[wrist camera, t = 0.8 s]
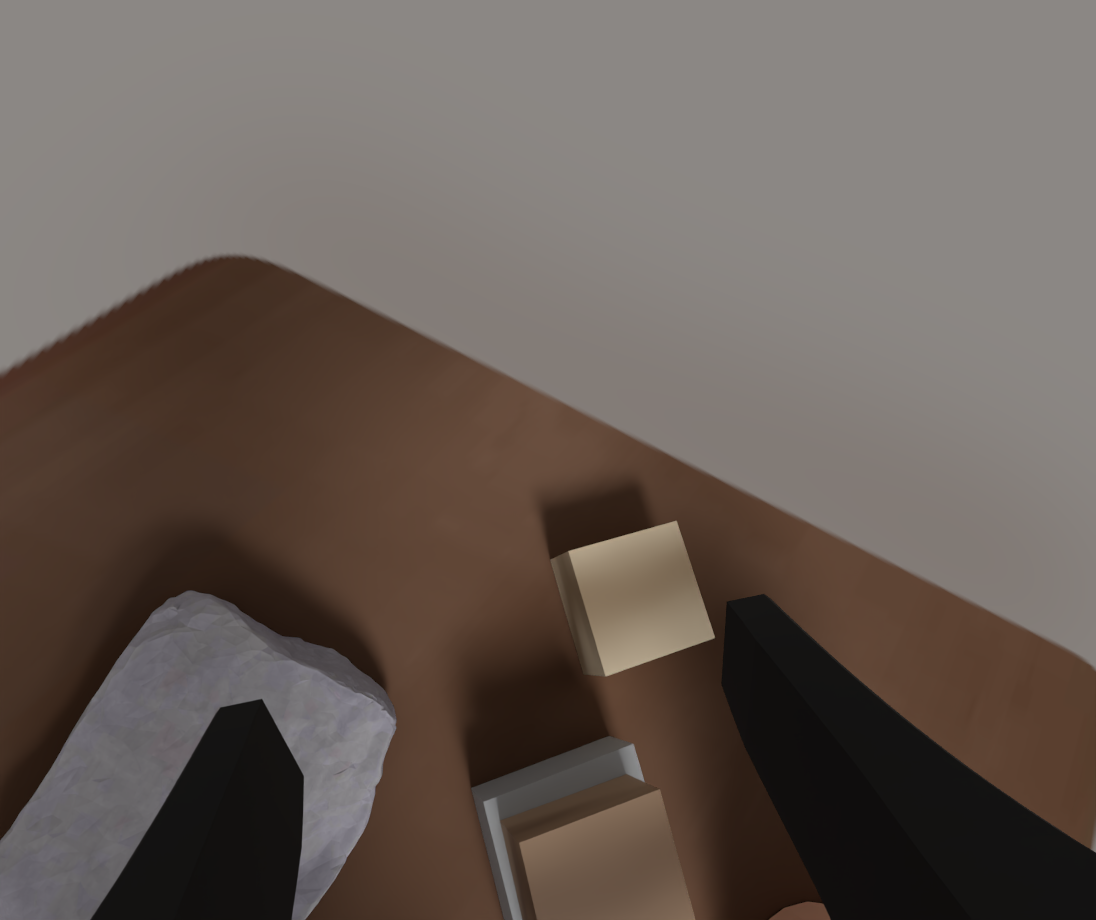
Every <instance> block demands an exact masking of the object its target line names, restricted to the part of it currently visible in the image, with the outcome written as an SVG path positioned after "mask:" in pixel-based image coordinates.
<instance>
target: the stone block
mask: <svg viewBox="0 0 1096 920" xmlns="http://www.w3.org/2000/svg"><path fill="white" fill-rule="evenodd" d="M258 699H262V700H263V701H264V703H265V705H266V707H267V709H268V711H269V712H270V714H271V716H272V718H273V720H274V722H275V723H276V725H277V727H278V729H279V731H280V733H281V735H282V736H283V738H284V740H285V742H286V744H287V746H288V747H289V749H290V751H291V753H292V755H293V757H294V758H295V760H296V762H297V764H298V766H299V768H300V770H301V771H302V773H303V775H304V801H303V831H302V850H301V857H300V865H299V872H298V879H297V886H296V893H295V900H294V907H293V914H292V920H305V919H306V918H307V917H308V915H309V914H310V913H311V911H312V910H313V909H314V908H315V906H316V905H317V904H318V903H319V901H320V899H321V898H322V897H323V895H324V894H325V893H326V891H327V890H328V888H329V887H330V886H331V884H332V883H333V881H334V880H335V879H336V877H337V875H338V873H339V872H340V870H341V868H342V867H343V865H344V864H345V862H346V859H347V856H348V855H349V854H350V852H351V851H352V849H353V848H354V846H355V845H356V843H357V841H358V839H359V838H360V836H361V835H362V833H363V831H364V829H365V827H366V825H367V823H368V820H369V816H370V813H371V808H372V803H373V800H374V796H375V787H376V785H377V784H378V782H379V781H380V778H381V776H382V773H383V761H384V757H385V754H386V752H387V749H388V747H389V744H390V741H391V738H392V736H393V734H394V733H395V730H396V726H395V724H396V715H395V710H394V706H393V705H392V702H391V701H390V699H389V697H388V695H387V693H386V692H385V690H384V689H383V688H382V687H381V686H380V685H379V684H377V683H376V682H375V681H374V680H373V679H372V678H371V677H369V676H368V675H366V674H364V673H363V672H361V671H360V670H359V669H358V668H356V667H355V666H354V665H353V664H352V663H351V662H350V661H349V659H348V658H346V657H344V656H342V655H340V654H339V653H338V652H337V651H335V650H334V649H332V648H326V647H323V646H319V645H315V644H311V643H309V642H305V641H303V640H302V639H301V638H298V637H284V636H281V635H279V634H277V633H275V632H274V631H272V630H270V629H269V628H267V627H266V626H265V625H263V624H261V623H259V622H256V621H255V620H254V619H252V618H251V617H250V616H248V615H246V614H245V613H243V612H241V611H240V610H239V609H238V608H237V607H236V605H234V604H232V603H230V602H228V601H225V600H222V599H219V598H217V597H215V596H213V595H211V594H204V593H199V592H196V591H186V592H184V593H182V594H180V595H178V596H177V597H173V598H169V599H168V600H166V602H165V603H164V604H163V605H162V606H160V607H159V608H157V609H156V610H155V611H153V612H152V614H151V615H150V617H149V618H148V620H147V621H146V622H145V624H144V625H143V626H142V628H141V629H140V631H139V632H138V633H137V635H136V636H135V637H134V638H133V639H132V641H131V642H130V643H129V645H128V646H127V647H126V649H125V650H124V652H123V653H122V654H121V656H120V657H119V658H118V660H117V661H116V663H115V664H114V666H113V668H112V669H111V671H110V673H109V674H108V676H107V677H106V679H105V681H104V682H103V684H102V685H101V687H100V688H99V690H98V691H97V693H96V694H95V696H94V697H93V698H92V700H91V701H90V703H89V704H88V706H87V707H86V709H85V711H84V712H83V714H82V715H81V717H80V719H79V720H78V722H77V724H76V725H75V727H74V729H73V730H72V732H71V734H70V736H69V737H68V739H67V741H66V743H65V745H64V746H63V748H62V750H61V752H60V754H59V755H58V757H57V759H56V760H55V762H54V764H53V766H52V767H51V769H50V770H49V772H48V773H47V775H46V776H45V778H44V779H43V781H42V783H41V784H40V786H39V787H38V789H37V790H36V792H35V793H34V795H33V796H32V798H31V799H30V800H29V802H28V803H27V804H26V805H25V807H24V808H23V809H22V811H21V812H20V813H19V815H18V817H17V818H16V820H15V822H14V823H13V825H12V826H11V828H10V829H9V830H8V832H7V833H6V834H5V835H4V837H3V838H2V839H1V840H0V920H90V919H91V918H92V916H93V915H94V913H95V912H96V910H97V909H98V907H99V906H100V904H101V903H102V901H103V900H104V898H105V897H106V895H107V894H108V892H109V891H110V889H111V888H112V886H113V885H114V883H115V881H116V880H117V878H118V877H119V875H120V874H121V872H122V870H123V869H124V867H125V866H126V864H127V862H128V861H129V859H130V858H131V856H132V854H133V853H134V851H135V849H136V848H137V846H138V845H139V843H140V841H141V840H142V838H143V836H144V835H145V833H146V832H147V830H148V828H149V827H150V825H151V823H152V822H153V820H154V818H155V817H156V815H157V814H158V812H159V810H160V809H161V807H162V805H163V804H164V802H165V800H166V798H167V797H168V795H169V793H170V792H171V790H172V788H173V787H174V785H175V783H176V781H177V780H178V778H179V776H180V775H181V773H182V771H183V769H184V768H185V766H186V764H187V762H188V761H189V759H190V757H191V755H192V754H193V752H194V750H195V748H196V747H197V745H198V743H199V742H200V740H201V738H202V736H203V735H204V733H205V731H206V729H207V728H208V726H209V724H210V722H211V721H212V719H213V717H214V715H215V714H216V712H217V711H218V710H219V709H220V707H225V706H230V705H234V704H239V703H244V702H249V701H254V700H258Z"/></svg>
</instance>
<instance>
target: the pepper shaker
mask: <svg viewBox="0 0 1096 920" xmlns="http://www.w3.org/2000/svg"><path fill="white" fill-rule="evenodd" d="M769 920H831V919H830V917H829V915H828V913H827V910H826V908H825V906H824V904H822V903H815V902H808V901H807V902H803V903H800V904H796V905H793V906H789V907H785V908H783V909H782V910H781V911H779V912H778V913H777V914H775V915H774V916H773V917H771V918H770V919H769Z"/></svg>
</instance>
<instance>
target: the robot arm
mask: <svg viewBox="0 0 1096 920" xmlns="http://www.w3.org/2000/svg"><path fill="white" fill-rule="evenodd" d="M722 687H723V690H724V693H725V695H726V698H727V701H728V704H729V706H730V709H731V712H732V715H733V717H734V720H735V723H736V725H737V728H738V730H739V733H740V736H741V738H742V741H743V743H744V746H745V748H746V750H747V752H748V754H749V756H750V758H751V760H752V762H753V764H754V766H755V768H756V770H757V772H758V774H759V776H760V778H761V780H762V782H763V784H764V786H765V788H766V790H767V792H768V794H769V796H770V798H771V800H772V802H773V804H774V806H775V808H776V810H777V812H778V814H779V816H780V818H781V820H782V822H783V824H784V826H785V828H786V830H787V832H788V834H789V835H790V837H791V839H792V841H793V843H794V845H795V847H796V849H797V851H798V853H799V855H800V857H801V859H802V861H803V863H804V865H805V867H806V869H807V871H808V873H809V875H810V877H811V879H812V881H813V883H814V885H815V887H816V889H817V891H818V893H819V895H820V897H821V900H822V902H823V904H824V906H825V908H826V910H827V913H828V915H829V917H830V919H831V920H1096V852H1094V851H1092V850H1091V849H1089V848H1087V847H1086V846H1084V845H1082V844H1081V843H1079V842H1078V841H1076V840H1074V839H1073V838H1071V837H1070V836H1068V835H1067V834H1065V833H1064V832H1062V831H1061V830H1059V829H1058V828H1056V827H1054V826H1053V825H1051V824H1050V823H1048V822H1047V821H1045V820H1044V819H1042V818H1041V817H1039V816H1038V815H1036V814H1035V813H1033V812H1032V811H1030V810H1029V809H1027V808H1026V807H1024V806H1023V805H1021V804H1020V803H1018V802H1017V801H1015V800H1014V799H1013V798H1011V797H1010V796H1008V795H1007V794H1005V793H1004V792H1002V791H1001V790H1000V789H998V788H997V787H995V786H994V785H992V784H991V783H989V782H988V781H987V780H985V779H984V778H982V777H981V776H980V775H978V774H977V773H976V772H974V771H973V770H971V769H970V768H969V767H967V766H966V765H965V764H963V763H962V762H961V761H959V760H958V759H957V758H955V757H954V756H953V755H951V754H950V753H949V752H947V751H946V750H945V749H943V748H942V747H941V746H940V745H938V744H937V743H936V742H934V741H933V740H932V739H930V738H929V737H928V736H927V735H925V734H924V733H923V732H921V731H920V730H919V729H918V728H916V727H915V726H914V725H913V724H911V723H910V722H909V721H908V720H906V719H905V718H904V717H903V716H901V715H900V714H899V713H898V712H897V711H895V710H894V709H893V708H892V707H890V706H889V705H888V704H887V703H886V702H885V701H883V700H882V699H881V698H880V697H879V696H877V695H876V694H875V693H874V692H873V691H872V690H870V689H869V688H868V687H867V686H866V685H865V684H863V683H862V682H861V681H860V680H859V679H857V678H856V677H855V676H854V675H853V674H852V673H850V672H849V671H848V670H847V669H846V668H845V667H844V666H843V665H841V664H840V663H839V662H838V661H837V660H836V659H835V658H834V657H832V656H831V655H830V654H829V653H828V652H827V651H826V650H825V649H824V648H823V647H821V646H820V645H819V644H818V643H817V642H816V641H815V640H814V639H813V638H812V637H811V636H809V635H808V634H807V633H806V632H805V631H804V630H803V629H802V628H801V627H800V626H799V625H798V624H797V623H796V622H794V621H793V620H792V619H791V618H790V617H789V616H788V615H787V614H786V613H785V612H784V611H783V610H782V609H781V608H780V607H779V606H778V605H777V604H776V603H774V602H773V601H772V600H771V599H770V598H769V597H768V596H766V595H765V594H761V595H757V596H752V597H747V598H742V599H738V600H733V601H728V602H727V608H726V623H725V638H724V654H723V669H722ZM303 801H304V775H303V773H302V771H301V770H300V768H299V766H298V764H297V762H296V760H295V758H294V757H293V755H292V753H291V751H290V749H289V747H288V746H287V744H286V742H285V740H284V738H283V736H282V735H281V733H280V731H279V729H278V727H277V725H276V723H275V722H274V720H273V718H272V716H271V714H270V712H269V711H268V709H267V707H266V705H265V703H264V701H263V700H262V699H258V700H254V701H249V702H244V703H239V704H234V705H230V706H225V707H220V709H219V710H218V711H217V712H216V714H215V715H214V717H213V719H212V721H211V722H210V724H209V726H208V728H207V729H206V731H205V733H204V735H203V736H202V738H201V740H200V742H199V743H198V745H197V747H196V748H195V750H194V752H193V754H192V755H191V757H190V759H189V761H188V762H187V764H186V766H185V768H184V769H183V771H182V773H181V775H180V776H179V778H178V780H177V781H176V783H175V785H174V787H173V788H172V790H171V792H170V793H169V795H168V797H167V798H166V800H165V802H164V804H163V805H162V807H161V809H160V810H159V812H158V814H157V815H156V817H155V818H154V820H153V822H152V823H151V825H150V827H149V828H148V830H147V832H146V833H145V835H144V836H143V838H142V840H141V841H140V843H139V845H138V846H137V848H136V849H135V851H134V853H133V854H132V856H131V858H130V859H129V861H128V862H127V864H126V866H125V867H124V869H123V870H122V872H121V874H120V875H119V877H118V878H117V880H116V881H115V883H114V885H113V886H112V888H111V889H110V891H109V892H108V894H107V895H106V897H105V898H104V900H103V901H102V903H101V904H100V906H99V907H98V909H97V910H96V912H95V913H94V915H93V916H92V918H91V919H90V920H292V914H293V907H294V900H295V893H296V886H297V879H298V872H299V865H300V857H301V850H302V831H303Z"/></svg>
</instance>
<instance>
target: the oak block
mask: <svg viewBox="0 0 1096 920" xmlns="http://www.w3.org/2000/svg"><path fill="white" fill-rule="evenodd" d="M550 562H551V565H552V569H553V572H554V575H555V579H556V582H557V586H558V589H559V593H560V596H561V599H562V603H563V606H564V610H565V613H566V617H567V620H568V623H569V627H570V630H571V634H572V637H573V641H574V644H575V648H576V651H577V654H578V658H579V661H580V665H581V668H582V672H583V674H585V675H595V676H608V675H611V674H614V673H617V672H620V671H623V670H625V669H628V668H631V667H634V666H637V665H640V664H643V663H645V662H648V661H651V660H654V659H657V658H660V657H662V656H665V655H668V654H671V653H674V652H677V651H680V650H682V649H685V648H688V647H691V646H694V645H697V644H699V643H702V642H705V641H708V640H711V639H714V638H715V636H714V633H713V630H712V627H711V624H710V621H709V618H708V615H707V612H706V609H705V605H704V602H703V599H702V596H701V593H700V590H699V587H698V584H697V581H696V578H695V575H694V572H693V569H692V566H691V563H690V560H689V557H688V554H687V551H686V548H685V545H684V542H683V539H682V536H681V533H680V530H679V527H678V524H677V521H674V522H670V523H667V524H663V525H660V526H656V527H652V528H649V529H645V530H642V531H638V532H635V533H631V534H628V535H624V536H620V537H617V538H613V539H610V540H606V541H603V542H599V543H595V544H592V545H588V546H585V547H581V548H578V549H574V550H571V551H568V552H565V553H563V554H561V555H559V556H557V557H555V558H553V559H550Z"/></svg>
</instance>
